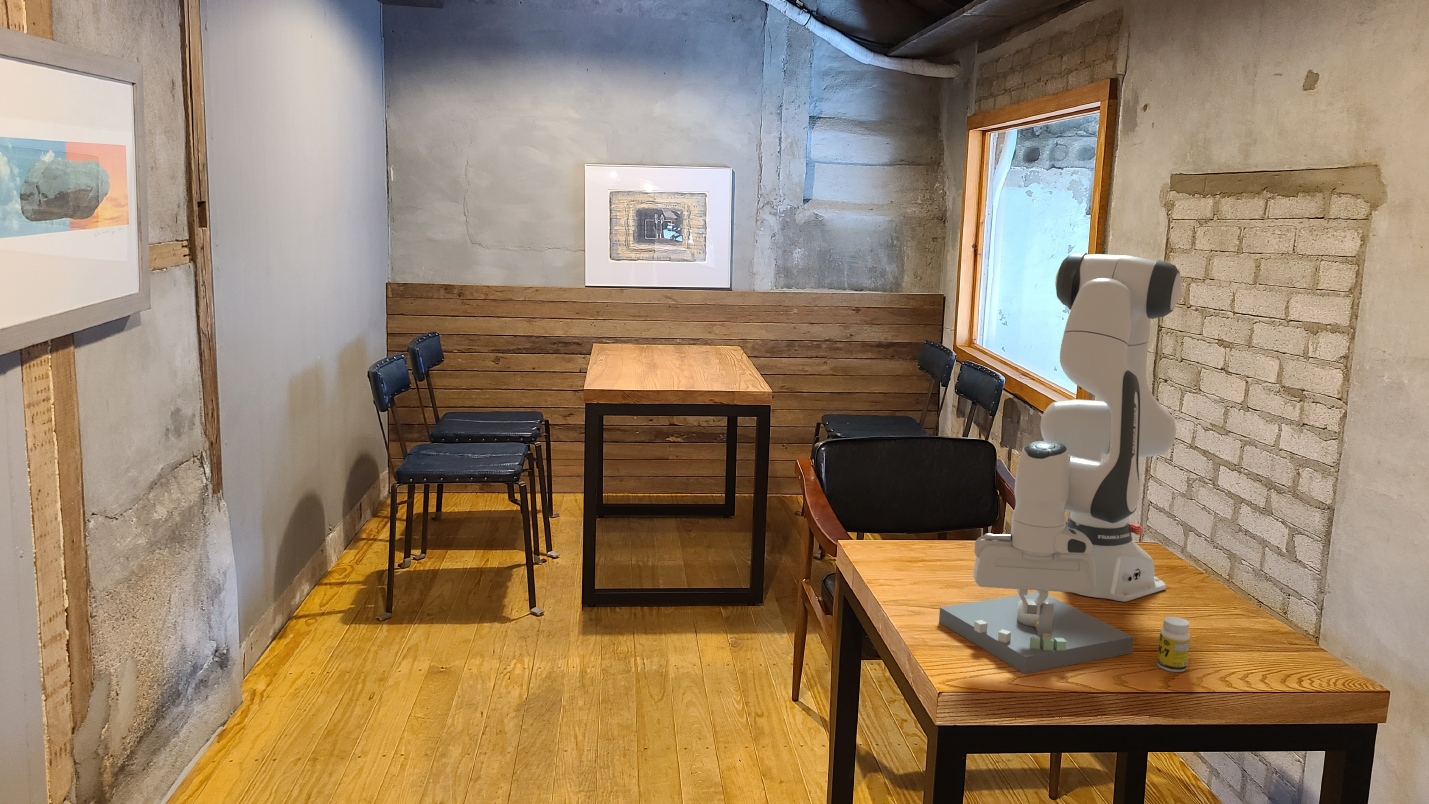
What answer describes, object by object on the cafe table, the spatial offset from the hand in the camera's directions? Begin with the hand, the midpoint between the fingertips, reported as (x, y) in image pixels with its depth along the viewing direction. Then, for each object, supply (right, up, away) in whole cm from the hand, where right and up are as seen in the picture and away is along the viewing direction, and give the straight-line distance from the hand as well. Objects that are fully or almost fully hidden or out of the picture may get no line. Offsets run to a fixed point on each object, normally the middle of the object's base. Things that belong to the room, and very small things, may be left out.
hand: (1030, 612), depth 190 cm
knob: (+3, -4, +5) cm, 7 cm away
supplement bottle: (+24, -9, -2) cm, 25 cm away
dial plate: (+3, -6, +9) cm, 11 cm away
